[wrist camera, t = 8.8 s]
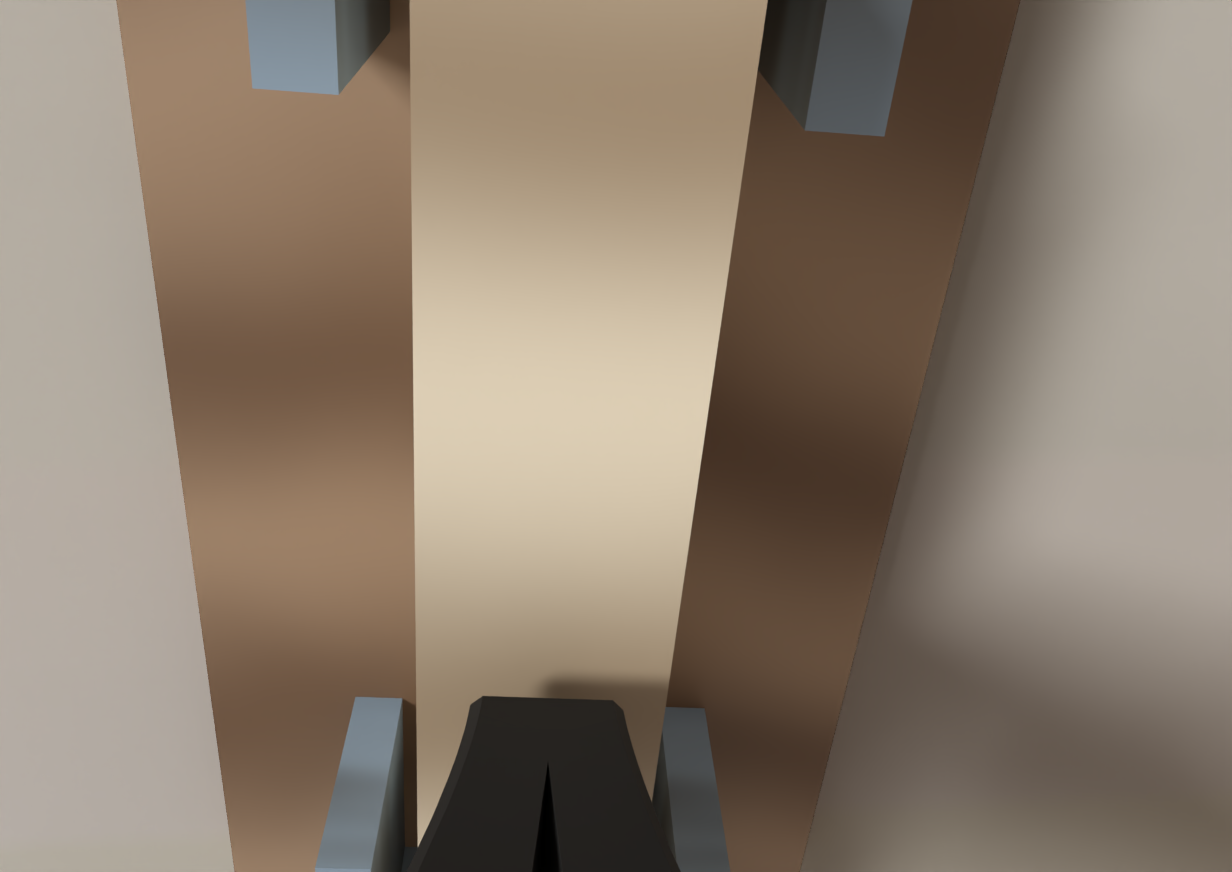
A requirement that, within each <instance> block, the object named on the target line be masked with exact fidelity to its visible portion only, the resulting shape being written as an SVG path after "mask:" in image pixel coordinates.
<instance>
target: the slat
mask: <svg viewBox="0 0 1232 872" xmlns="http://www.w3.org/2000/svg"><path fill="white" fill-rule="evenodd" d="M767 2H768V0H410V97H411V202H412V307H413V411H414V516H415V621H416V725H417V830H418V846H419V844H420V842H421V840H422V838H423V835H424V833H425V831H426V829H427V827H428V825H429V823H430V821H431V818H432V816H433V814H434V811H435V809H436V806H437V804H438V802H439V799H440V797H441V794H442V792H443V789H444V787H445V785H446V782H447V780H448V777H449V774H450V772H451V769H452V766H453V764H454V761H455V758H456V755H457V752H458V749H459V746H460V743H461V740H462V736H463V733H464V730H465V726H466V722H467V717H468V713H469V708H470V705H471V704H472V703H473V702H475V701H476V700H478V699H479V698H481V697H482V696H502V697H532V698H561V699H591V700H613V701H614V702H615V703H616V704H617V705H618V706H620V707H621V708H622V709H623V711H624V715H625V720H626V724H627V728H628V732H629V736H630V739H631V743H632V746H633V750H634V753H635V756H636V759H637V762H638V765H639V768H640V771H641V774H642V777H643V780H644V783H645V785H646V788H647V791H648V793H649V796H650V799H651V801H652V797H653V790H654V783H655V777H656V770H657V763H658V756H659V749H660V742H661V735H662V728H663V721H664V714H665V707H666V700H667V694H668V687H669V680H670V673H671V666H672V659H673V652H674V645H675V638H676V631H677V624H678V617H679V611H680V604H681V597H682V590H683V583H684V576H685V569H686V562H687V555H688V548H689V541H690V535H691V528H692V521H693V514H694V507H695V500H696V493H697V486H698V479H699V472H700V465H701V458H702V452H703V445H704V438H705V431H706V424H707V417H708V410H709V403H710V396H711V389H712V382H713V375H714V369H715V362H716V355H717V348H718V341H719V334H720V327H721V320H722V313H723V306H724V299H725V292H726V286H727V279H728V272H729V265H730V258H731V251H732V244H733V237H734V230H735V223H736V216H737V210H738V203H739V196H740V189H741V182H742V175H743V168H744V161H745V154H746V147H747V140H748V133H749V127H750V120H751V113H752V106H753V99H754V92H755V85H756V78H757V71H758V64H759V57H760V50H761V44H762V37H763V30H764V23H765V16H766V9H767Z"/></svg>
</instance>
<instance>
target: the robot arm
mask: <svg viewBox="0 0 1232 872" xmlns="http://www.w3.org/2000/svg"><path fill="white" fill-rule="evenodd" d="M406 872H681V871H680V869H679V866H678V864H677V862H676V860H675V858H674V855H673V853H672V851H671V849H670V846H669V844H668V841H667V839H666V837H665V834H664V832H663V830H662V827H661V825H660V822H659V820H658V817H657V814H656V812H655V809H654V807H653V804H652V801H651V799H650V796H649V793H648V791H647V788H646V785H645V783H644V780H643V777H642V774H641V771H640V768H639V765H638V762H637V759H636V756H635V753H634V750H633V746H632V743H631V739H630V736H629V732H628V728H627V724H626V720H625V715H624V711H623V709H622V708H621V707H620V706H618V705H617V704H616V703H615V702H614V701H613V700H591V699H561V698H532V697H502V696H482V697H481V698H479V699H478V700H476V701H475V702H473V703H472V704H471V705H470V708H469V713H468V717H467V722H466V726H465V730H464V733H463V736H462V740H461V743H460V746H459V749H458V752H457V755H456V758H455V761H454V764H453V766H452V769H451V772H450V774H449V777H448V780H447V782H446V785H445V787H444V789H443V792H442V794H441V797H440V799H439V802H438V804H437V806H436V809H435V811H434V814H433V816H432V818H431V821H430V823H429V825H428V827H427V829H426V831H425V833H424V835H423V838H422V840H421V842H420V844H419V846H418V848H417V850H416V852H415V855H414V857H413V859H412V861H411V863H410V865H409V867H408V869H407V871H406Z"/></svg>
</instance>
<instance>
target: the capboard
mask: <svg viewBox="0 0 1232 872" xmlns="http://www.w3.org/2000/svg"><path fill="white" fill-rule="evenodd" d="M116 1H117V9H118V16H119V24H120V31H121V38H122V46H123V53H124V60H125V68H126V75H127V82H128V90H129V97H130V105H131V112H132V119H133V127H134V134H135V141H136V149H137V156H138V163H139V171H140V178H141V186H142V193H143V200H144V208H145V215H146V222H147V230H148V237H149V244H150V252H151V259H152V267H153V274H154V281H155V289H156V296H157V303H158V311H159V318H160V326H161V333H162V340H163V348H164V355H165V362H166V370H167V377H168V384H169V392H170V399H171V407H172V414H173V421H174V429H175V436H176V443H177V451H178V458H179V465H180V473H181V480H182V488H183V495H184V502H185V510H186V517H187V524H188V532H189V539H190V546H191V554H192V561H193V569H194V576H195V583H196V591H197V598H198V605H199V613H200V620H201V627H202V635H203V642H204V650H205V657H206V664H207V672H208V679H209V686H210V694H211V701H212V709H213V716H214V723H215V731H216V738H217V745H218V753H219V760H220V767H221V775H222V782H223V790H224V797H225V804H226V812H227V819H228V826H229V834H230V841H231V848H232V856H233V863H234V871H235V872H406V871H407V869H408V867H409V865H410V863H411V861H412V859H413V857H414V855H415V852H416V850H417V848H418V830H417V725H416V621H415V516H414V411H413V307H412V202H411V97H410V0H116ZM1019 4H1020V0H768V2H767V9H766V16H765V23H764V30H763V37H762V44H761V50H760V57H759V64H758V71H757V78H756V85H755V92H754V99H753V106H752V113H751V120H750V127H749V133H748V140H747V147H746V154H745V161H744V168H743V175H742V182H741V189H740V196H739V203H738V210H737V216H736V223H735V230H734V237H733V244H732V251H731V258H730V265H729V272H728V279H727V286H726V292H725V299H724V306H723V313H722V320H721V327H720V334H719V341H718V348H717V355H716V362H715V369H714V375H713V382H712V389H711V396H710V403H709V410H708V417H707V424H706V431H705V438H704V445H703V452H702V458H701V465H700V472H699V479H698V486H697V493H696V500H695V507H694V514H693V521H692V528H691V535H690V541H689V548H688V555H687V562H686V569H685V576H684V583H683V590H682V597H681V604H680V611H679V617H678V624H677V631H676V638H675V645H674V652H673V659H672V666H671V673H670V680H669V687H668V694H667V700H666V707H665V714H664V721H663V728H662V735H661V742H660V749H659V756H658V763H657V770H656V777H655V783H654V790H653V797H652V804H653V807H654V809H655V812H656V814H657V817H658V820H659V822H660V825H661V827H662V830H663V832H664V834H665V837H666V839H667V841H668V844H669V846H670V849H671V851H672V853H673V855H674V858H675V860H676V862H677V864H678V866H679V869H680V871H681V872H800V868H801V864H802V860H803V856H804V852H805V848H806V844H807V840H808V837H809V833H810V829H811V825H812V821H813V817H814V813H815V809H816V805H817V801H818V797H819V793H820V789H821V785H822V781H823V777H824V773H825V769H826V765H827V762H828V758H829V754H830V750H831V746H832V742H833V738H834V734H835V730H836V726H837V722H838V718H839V714H840V710H841V706H842V702H843V698H844V694H845V690H846V687H847V683H848V679H849V675H850V671H851V667H852V663H853V659H854V655H855V651H856V647H857V643H858V639H859V635H860V631H861V627H862V623H863V619H864V615H865V612H866V608H867V604H868V600H869V596H870V592H871V588H872V584H873V580H874V576H875V572H876V568H877V564H878V560H879V556H880V552H881V548H882V544H883V540H884V537H885V533H886V529H887V525H888V521H889V517H890V513H891V509H892V505H893V501H894V497H895V493H896V489H897V485H898V481H899V477H900V473H901V469H902V465H903V462H904V458H905V454H906V450H907V446H908V442H909V438H910V434H911V430H912V426H913V422H914V418H915V414H916V410H917V406H918V402H919V398H920V394H921V390H922V387H923V383H924V379H925V375H926V371H927V367H928V363H929V359H930V355H931V351H932V347H933V343H934V339H935V335H936V331H937V327H938V323H939V319H940V315H941V312H942V308H943V304H944V300H945V296H946V292H947V288H948V284H949V280H950V276H951V272H952V268H953V264H954V260H955V256H956V252H957V248H958V244H959V240H960V236H961V233H962V229H963V225H964V221H965V217H966V213H967V209H968V205H969V201H970V197H971V193H972V189H973V185H974V181H975V177H976V173H977V169H978V165H979V161H980V158H981V154H982V150H983V146H984V142H985V138H986V134H987V130H988V126H989V122H990V118H991V114H992V110H993V106H994V102H995V98H996V94H997V90H998V86H999V83H1000V79H1001V75H1002V71H1003V67H1004V63H1005V59H1006V55H1007V51H1008V47H1009V43H1010V39H1011V35H1012V31H1013V27H1014V23H1015V19H1016V15H1017V11H1018V8H1019Z"/></svg>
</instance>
